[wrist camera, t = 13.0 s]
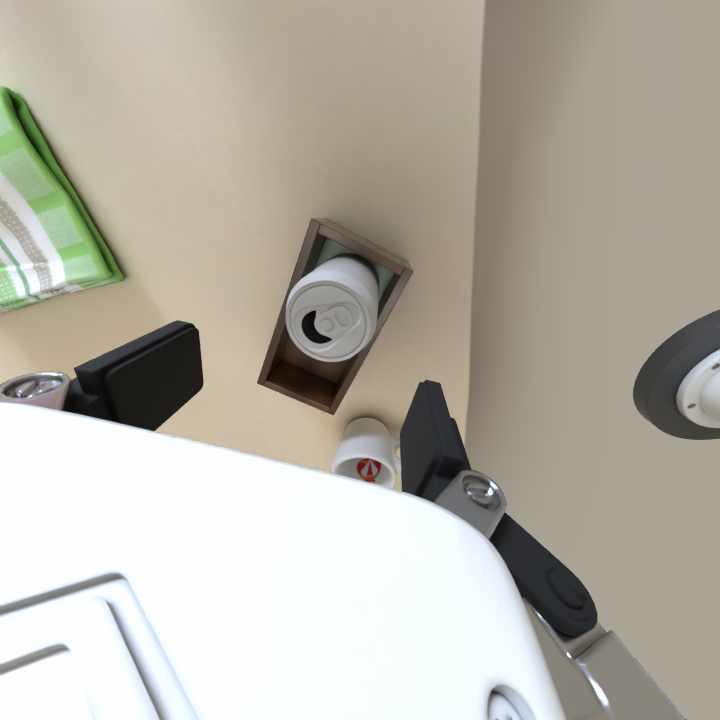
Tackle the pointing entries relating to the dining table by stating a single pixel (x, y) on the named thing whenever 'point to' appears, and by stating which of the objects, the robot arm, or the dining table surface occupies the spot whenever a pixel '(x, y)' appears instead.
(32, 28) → the dining table surface
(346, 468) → the cup
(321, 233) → the wooden compartment box
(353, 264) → the beverage can
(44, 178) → the dish towel
